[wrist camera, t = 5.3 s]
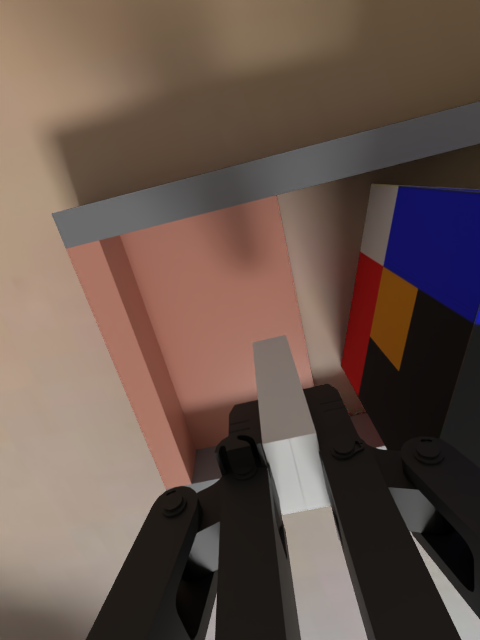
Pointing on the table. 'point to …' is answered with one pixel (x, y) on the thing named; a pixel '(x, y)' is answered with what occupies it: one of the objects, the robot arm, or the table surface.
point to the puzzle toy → (418, 316)
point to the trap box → (218, 282)
